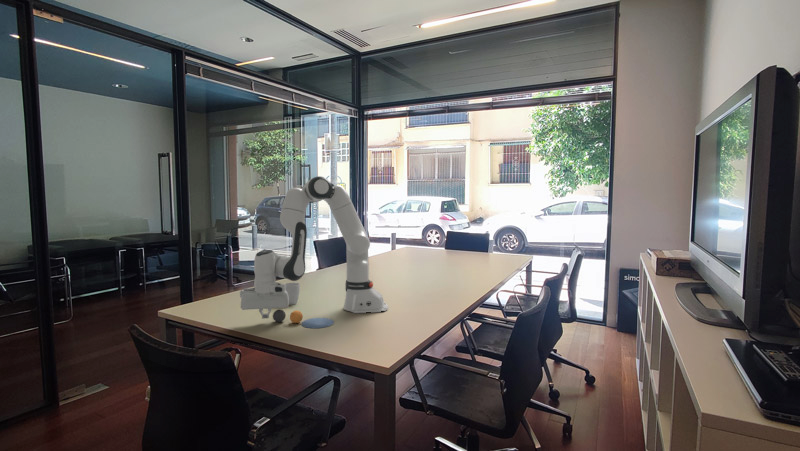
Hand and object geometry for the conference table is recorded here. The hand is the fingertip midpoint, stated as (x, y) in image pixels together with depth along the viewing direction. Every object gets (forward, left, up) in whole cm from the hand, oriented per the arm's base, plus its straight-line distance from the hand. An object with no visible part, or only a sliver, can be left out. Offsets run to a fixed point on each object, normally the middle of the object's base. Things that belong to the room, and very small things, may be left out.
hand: (265, 318), depth 174 cm
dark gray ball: (-6, -1, +1) cm, 6 cm away
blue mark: (-23, 0, -2) cm, 23 cm away
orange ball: (-14, 0, +1) cm, 14 cm away
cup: (-3, -32, -2) cm, 32 cm away
